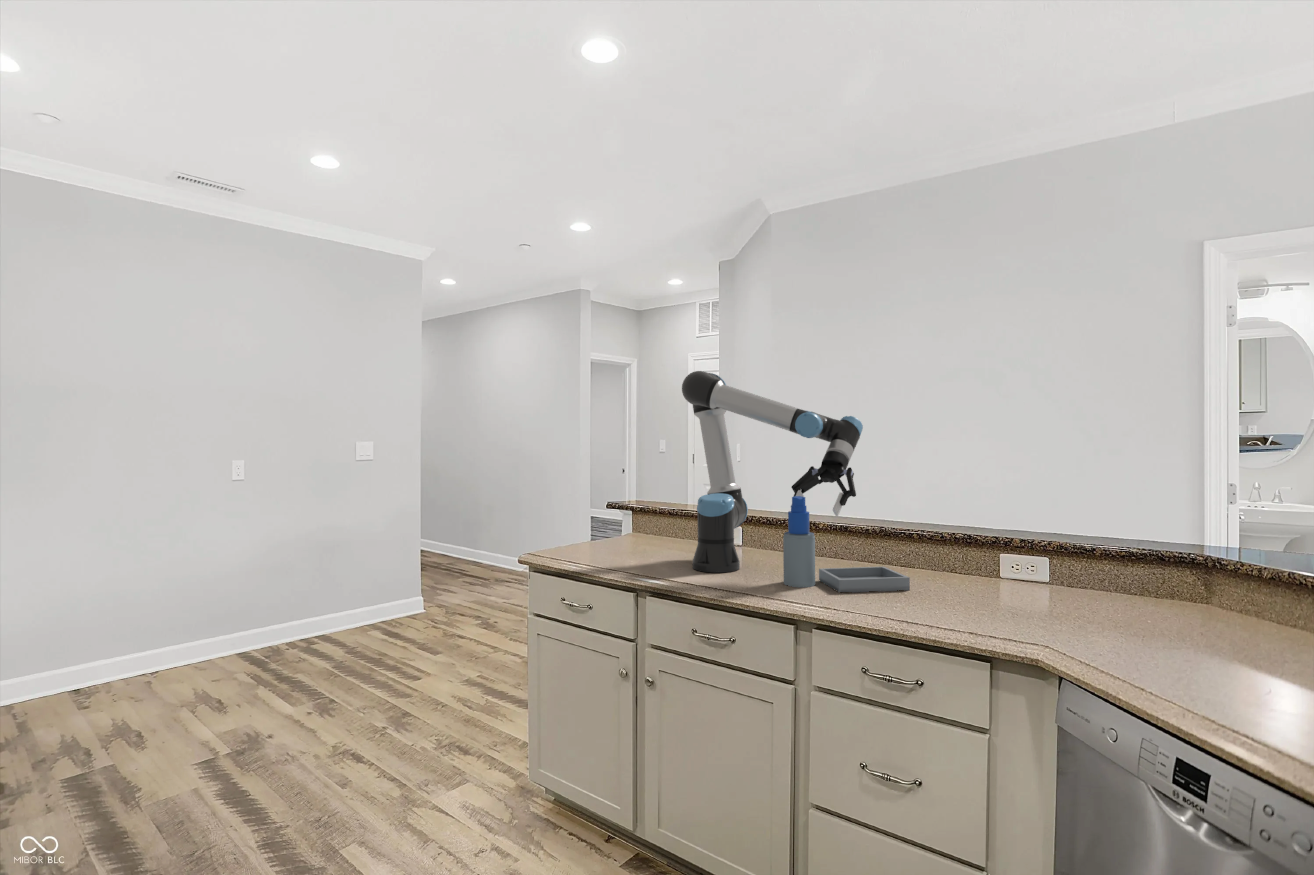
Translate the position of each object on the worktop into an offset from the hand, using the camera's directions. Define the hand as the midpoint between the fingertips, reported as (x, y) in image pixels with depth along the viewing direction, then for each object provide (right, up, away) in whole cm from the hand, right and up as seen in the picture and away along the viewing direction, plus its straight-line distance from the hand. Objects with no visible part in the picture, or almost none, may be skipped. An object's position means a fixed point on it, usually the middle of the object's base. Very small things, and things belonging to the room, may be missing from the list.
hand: (813, 511), depth 189 cm
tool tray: (+12, -20, -6) cm, 24 cm away
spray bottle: (-5, -21, -4) cm, 22 cm away
